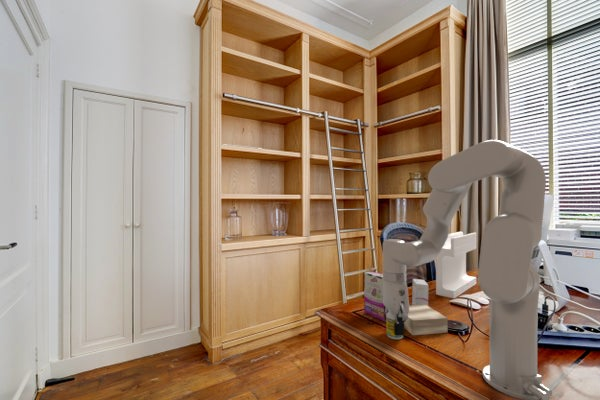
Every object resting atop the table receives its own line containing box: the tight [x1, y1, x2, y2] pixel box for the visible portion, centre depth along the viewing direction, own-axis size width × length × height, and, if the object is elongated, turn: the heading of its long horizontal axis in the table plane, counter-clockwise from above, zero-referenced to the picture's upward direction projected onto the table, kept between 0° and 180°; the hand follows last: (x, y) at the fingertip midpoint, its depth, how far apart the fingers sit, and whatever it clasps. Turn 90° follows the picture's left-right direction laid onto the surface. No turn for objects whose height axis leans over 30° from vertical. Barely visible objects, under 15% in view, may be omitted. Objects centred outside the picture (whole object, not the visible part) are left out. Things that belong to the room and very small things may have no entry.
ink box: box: [411, 278, 430, 306], centre depth 119 cm, size 9×5×12 cm, turn 168°
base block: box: [404, 304, 449, 336], centre depth 104 cm, size 13×13×5 cm
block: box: [435, 231, 477, 299], centre depth 148 cm, size 35×8×28 cm, turn 134°
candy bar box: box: [363, 271, 386, 323], centre depth 113 cm, size 11×5×16 cm, turn 33°
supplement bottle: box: [385, 309, 404, 340], centre depth 96 cm, size 5×5×10 cm
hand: (394, 330), depth 96 cm, fingers closed on supplement bottle, 5 cm apart
